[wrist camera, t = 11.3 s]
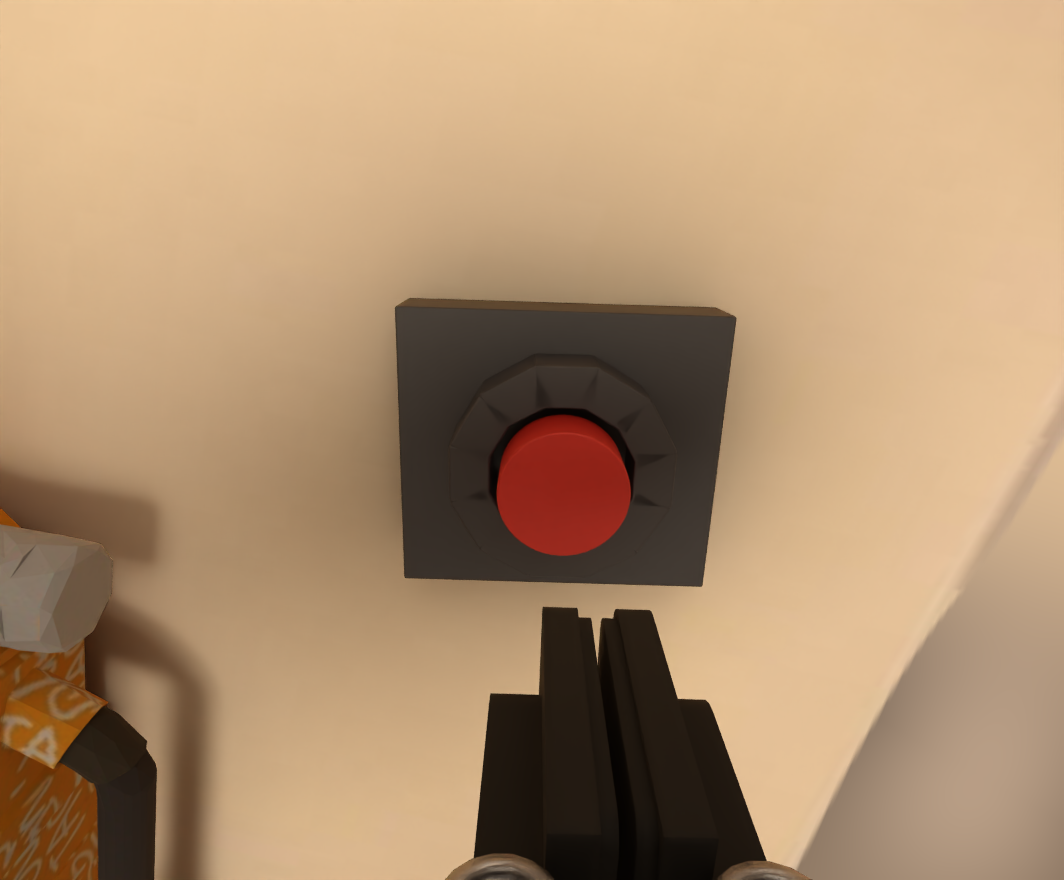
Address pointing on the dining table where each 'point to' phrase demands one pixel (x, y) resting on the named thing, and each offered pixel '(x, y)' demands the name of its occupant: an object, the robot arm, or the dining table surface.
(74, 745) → the device
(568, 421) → the power button
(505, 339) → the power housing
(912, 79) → the dining table surface
